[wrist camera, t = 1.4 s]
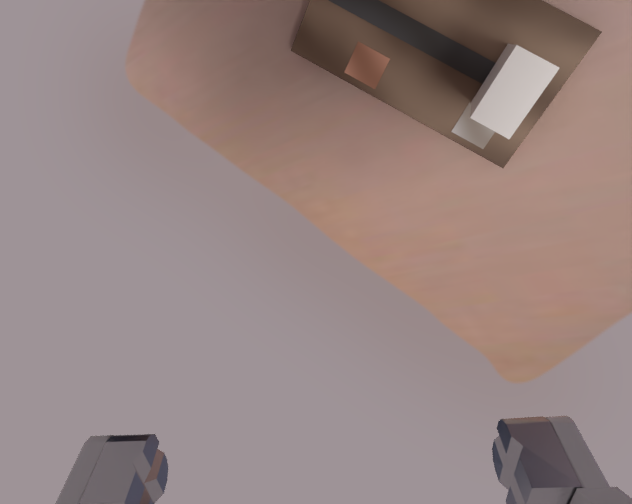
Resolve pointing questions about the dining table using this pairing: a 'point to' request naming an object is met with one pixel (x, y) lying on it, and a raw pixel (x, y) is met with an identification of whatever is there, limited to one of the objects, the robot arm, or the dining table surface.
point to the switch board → (441, 56)
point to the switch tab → (511, 90)
